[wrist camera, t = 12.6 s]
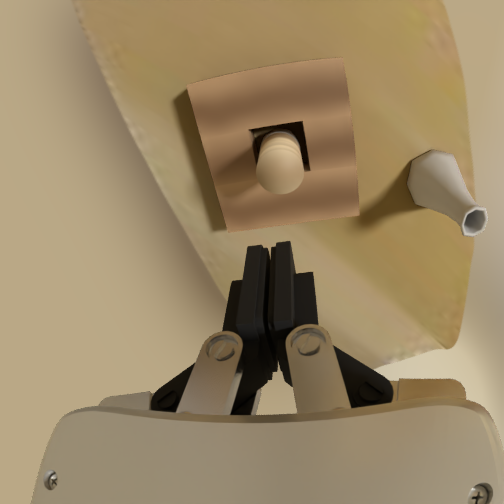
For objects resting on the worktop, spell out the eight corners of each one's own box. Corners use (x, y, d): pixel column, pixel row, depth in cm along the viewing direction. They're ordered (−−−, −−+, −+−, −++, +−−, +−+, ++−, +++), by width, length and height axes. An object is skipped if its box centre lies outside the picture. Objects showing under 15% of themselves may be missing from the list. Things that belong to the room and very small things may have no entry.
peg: (258, 127, 29) (250, 153, 22) (295, 121, 29) (300, 145, 21) (265, 161, 31) (260, 198, 24) (301, 155, 31) (307, 191, 23)
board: (194, 82, 27) (186, 85, 24) (336, 57, 24) (342, 57, 22) (232, 218, 36) (228, 232, 33) (353, 202, 33) (359, 215, 31)
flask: (457, 145, 27) (507, 180, 19) (458, 200, 31) (498, 247, 23) (403, 153, 29) (443, 192, 21) (407, 210, 33) (440, 262, 25)
